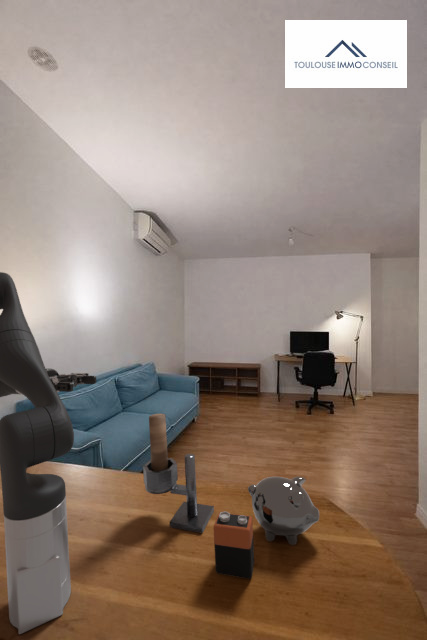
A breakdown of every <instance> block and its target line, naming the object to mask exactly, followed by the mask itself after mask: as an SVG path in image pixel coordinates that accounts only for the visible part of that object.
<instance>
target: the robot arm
mask: <svg viewBox="0 0 427 640" xmlns="http://www.w3.org/2000/svg"><path fill="white" fill-rule="evenodd" d="M0 310H2V311H1V313H0V398H3V397H8V396H10V395H11V396H12V395H23V396H24V397H26V399H28V401H30V402H31V404H32V405H33V406H34V408H31V409H26V410H21V411H17V412H12V413H10V414H6V415H4V416H2V417H1V419H0V479H1V492H2V494H1V495H2V508H3V509H2V510H3V523H4V524H3V525H4V526H3V527H4V543H5V544H4V546H5V562H6V563H5V565H6V584H7V585H6V586H7V599H8V600H7V601H8V617H9V622H10V625H12V627H15V628H16V629H17V630H18V631H17V632H18V635H22V634H24V633H27V632H29V631H30V630H32V629H35V628H37V627H39V626H41V625H43V624H45V623H47V622H49V621H52V620H54V619H56V618H58V617H60V616H62V615H63V614H64V607H65V606H66V604H67V603H68V601H69V599H70V598H71V597H70V596H71V594H72V593H71V592H72V586H71V585H72V584H71V570H70V569H71V568H70V552H69V551H70V550H69V534H68V533H69V532H68V514H67V513H68V512H67V511H68V510H67V491H66V482H65V480H64V478H63V477H61V475H57V474H54V473H29V472H27V469H29V468H32V467H34V466H37V465H39V464H43V463H45V462H48V461H51V460H54V459H57V458H60V457H62V456H64V455H66V454H68V453H69V452H70V451H71V450H72V448H73V447H74V443H75V433H74V428H73V427H74V426H73V423H72V420H71V417H70V415H69V412H68V410H67V408H66V407H65V404H64V403H63V401H62V399H61V397H60V395H59V393H60V392H64V393H71V392H73V391H74V388H76V387H77V386H78V385H95V384H97V375H90V374H89V373H88V372H85V373H80V372H79V373H78V372H77V373H74V372H72V373H70V374H66V373H61V374H60V373H59V372H58V371H57V370H55V369H53V368H46V366H45V364H44V361H43V358H42V356H41V352H40V349H39V346H38V344H37V342H36V339H35V336H34V334H33V332H32V330H31V328H30V326H29V323H28V321H27V318H26V316H25V314H24V311H23V308H22V304H21V301H20V297H19V293H18V290H17V287H16V284H15V282H14V278H13V277H12V276H11V275H10V274H9V273H6V272H3V271H0Z"/></svg>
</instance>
